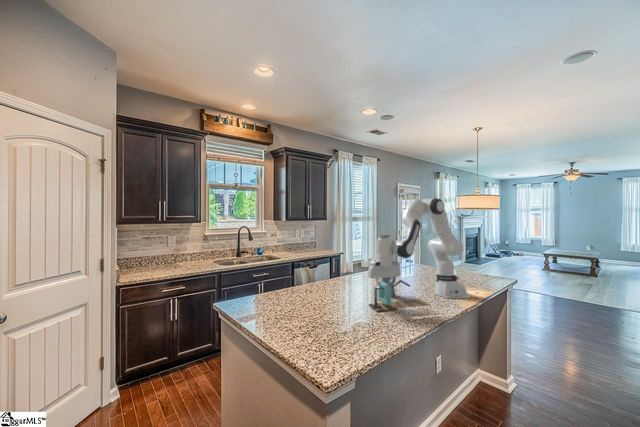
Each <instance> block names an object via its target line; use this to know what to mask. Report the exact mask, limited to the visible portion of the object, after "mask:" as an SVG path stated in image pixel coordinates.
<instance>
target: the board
mask: <svg viewBox="0 0 640 427" xmlns="http://www.w3.org/2000/svg"><path fill="white" fill-rule="evenodd" d="M370 304H371V303H368V306H369V307H370V308H371V309H372V310H374V311H375V312H376V313H379V312H390V311H391V312H392V311H399V309H403V308H417V307H425V306H426V307H427V306H431V304H430V303H428V302H426V301H424V300H422V299H420V298H419V299H418V298H417V299H407V300H397V301H395V300H394V301H391V305H386V304H385V303H383V302H377V304H379V305H380V306H381V308H372V307H371V306H370ZM372 304H374V302H373V303H372Z"/></svg>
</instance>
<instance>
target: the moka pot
mask: <svg viewBox="0 0 640 427" xmlns="http://www.w3.org/2000/svg"><path fill="white" fill-rule="evenodd" d="M390 280H391V278H390V277H385V278H381V282H385V283H386V284H388V285H390V286H393V285H394V284H395V283H396V277H394V280H393V281H392V284H389V281H390ZM384 297H385V289H384ZM395 297H396V291H395V287H393V288H391V298H395Z"/></svg>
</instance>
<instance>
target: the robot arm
mask: <svg viewBox="0 0 640 427" xmlns="http://www.w3.org/2000/svg"><path fill="white" fill-rule="evenodd" d="M422 216H429V218H430V222H431V223H430V224H431V229H432V232H433V234H434V235H435V236H437V237H438V238H431V239H430V240H429V241H428V243H427V248H428V251H430V252H431V254H432V255H433V257H434V260H435V264H436V274H435V282H436V283H435V284H436V286H435V289H434V290H435V291H434V294H435V295H436V296H439V297H442V298H445V299H470V298H471V294H470V293H468V292H467V288H466V286H465V285H464V284H462V283H461V282H460V281H459V276H457V275H455V266H454V263H453V261H452V260H451V259H450V258H449V256H451V257H452V256H460V255H462V254H463V253H464V244H463V243H462V242H461V241H460V240H459V239H457V237H455V235H454V234H453V232H452V230H451V227H450V223H449V218H448V214H447V212H446V209H445V203H444V201H443V200H442V199H440V198H436V197H435V198H424V199H419V198H414V199H413V200H411V202H409V204H408V205H407V206H406V208H405V209H404V211H403V213H402V216H401V220H402V224H404V226H406V227H407V228H409V230H408V232H407V235H406V238H405V239H404V240H398V239H397V240H396V239H394V238H393V237H392V236H390V235H388V234H382V235H380V236H377V241H376V253H377V254H376V258H374V259H372V260H370V261H369V266H368V269H367V270H368V271H367V276H368V278H370V279H374V280H375V282H376V285H377V286H378V285H380V282H381V281H379V279H382V278H385V277H390V278H391V280H390V281H389V284H392V281H393V280H394V277H395V278H397V277H400V276H401V268H400V267H401V263H400V262H399V261H397V260H395V261H393V259H392V258H393V257H392V256H395V257H400V258H403V259H409V258H411V257H412V256H413V254H414V252H415V245H416V242H417V241H418V240H417V239H418V236H419V232H420V231H421V227H422V226H421V222H420V221H421V219H422Z"/></svg>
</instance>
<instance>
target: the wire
mask: <svg viewBox="0 0 640 427" xmlns="http://www.w3.org/2000/svg"><path fill="white" fill-rule="evenodd" d="M399 284H404V285H406V286H407V287H411V284H409V283H407V282H405V281H403V280H402V279H400V280H398V281H397V282H395V283H394V285H393V286H391V288H393V287H394V288H395V287H396V286H398V285H399ZM378 289H385V288H383V287H378V286H375V287H374V288H373V293H374V294H373V296H374V297H373V298H374V299H373V300H374V302H373V303H374V304H373V303H369V304H370V306H371V307H372V308H381V306H380V305H379V304H377V303H378ZM370 306H369V307H370ZM371 307H370V308H371ZM372 308H371V309H372Z"/></svg>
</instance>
